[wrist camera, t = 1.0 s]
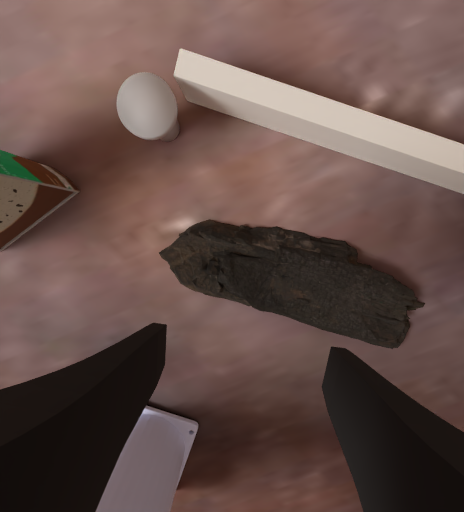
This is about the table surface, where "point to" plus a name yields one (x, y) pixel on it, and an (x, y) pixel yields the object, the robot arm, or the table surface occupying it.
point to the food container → (28, 195)
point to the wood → (294, 279)
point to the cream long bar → (287, 118)
